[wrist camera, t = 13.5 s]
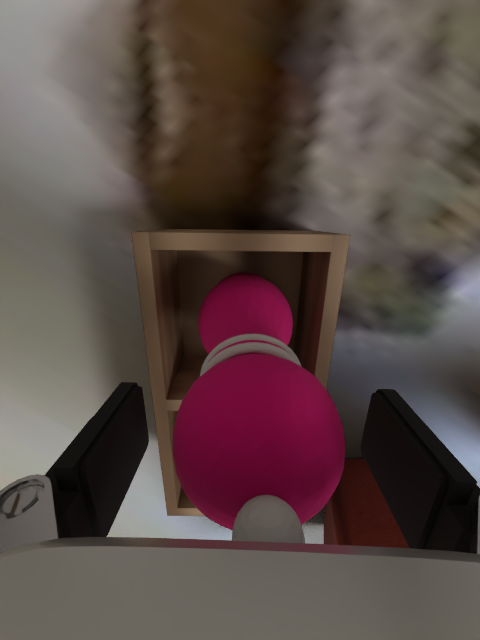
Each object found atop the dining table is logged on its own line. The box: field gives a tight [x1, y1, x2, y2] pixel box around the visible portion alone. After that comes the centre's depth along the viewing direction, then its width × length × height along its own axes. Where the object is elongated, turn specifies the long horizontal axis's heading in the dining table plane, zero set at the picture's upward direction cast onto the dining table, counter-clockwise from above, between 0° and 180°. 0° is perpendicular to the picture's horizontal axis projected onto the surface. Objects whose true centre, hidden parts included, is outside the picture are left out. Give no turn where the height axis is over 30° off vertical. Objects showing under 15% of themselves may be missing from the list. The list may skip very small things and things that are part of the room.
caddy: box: [131, 229, 350, 516], centre depth 24 cm, size 13×25×8 cm, turn 179°
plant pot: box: [324, 458, 410, 548], centre depth 27 cm, size 19×19×17 cm
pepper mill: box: [173, 272, 346, 544], centre depth 15 cm, size 7×7×20 cm
